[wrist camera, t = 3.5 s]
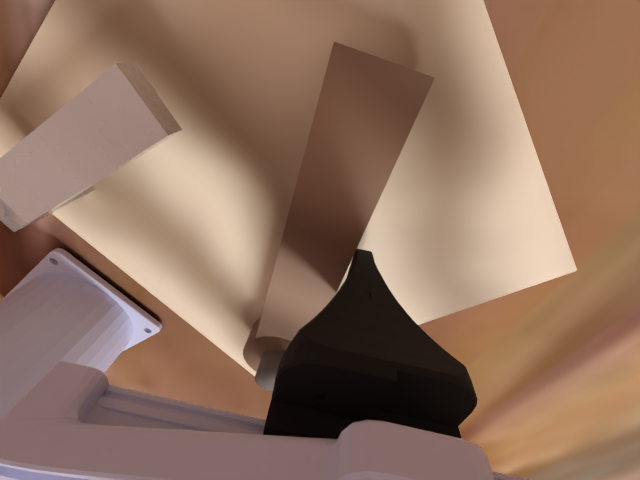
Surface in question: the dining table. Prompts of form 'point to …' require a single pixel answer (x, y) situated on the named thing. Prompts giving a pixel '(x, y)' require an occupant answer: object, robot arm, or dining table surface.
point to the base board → (296, 150)
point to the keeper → (82, 145)
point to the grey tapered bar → (335, 193)
